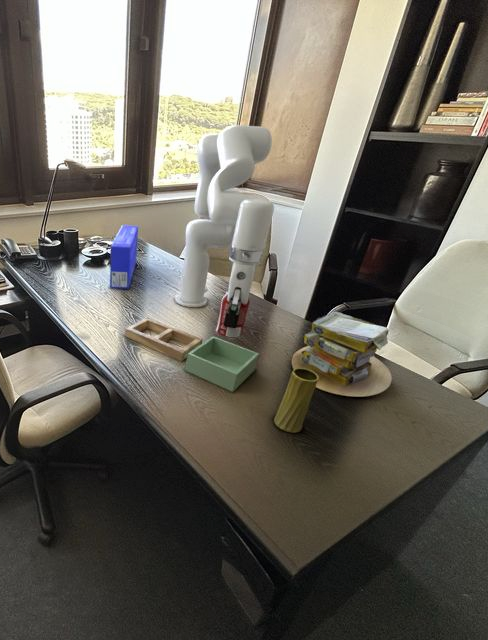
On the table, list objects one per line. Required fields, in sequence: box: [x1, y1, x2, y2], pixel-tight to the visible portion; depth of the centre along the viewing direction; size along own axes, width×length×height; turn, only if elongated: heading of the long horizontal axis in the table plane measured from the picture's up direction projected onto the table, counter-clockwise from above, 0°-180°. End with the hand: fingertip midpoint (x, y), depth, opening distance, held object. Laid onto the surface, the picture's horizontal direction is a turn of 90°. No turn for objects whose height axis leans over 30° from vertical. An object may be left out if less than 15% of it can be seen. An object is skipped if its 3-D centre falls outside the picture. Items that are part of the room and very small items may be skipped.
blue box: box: [109, 224, 139, 290], centre depth 170 cm, size 39×8×18 cm, turn 172°
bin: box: [184, 335, 260, 393], centre depth 105 cm, size 15×15×6 cm
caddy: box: [124, 317, 204, 362], centre depth 119 cm, size 12×22×3 cm, turn 49°
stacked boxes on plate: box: [291, 311, 393, 398], centre depth 104 cm, size 25×25×17 cm
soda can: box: [215, 290, 251, 340], centre depth 98 cm, size 7×7×12 cm
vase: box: [273, 368, 319, 434], centre depth 84 cm, size 6×6×14 cm
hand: (231, 320), depth 99 cm, fingers closed on soda can, 6 cm apart
